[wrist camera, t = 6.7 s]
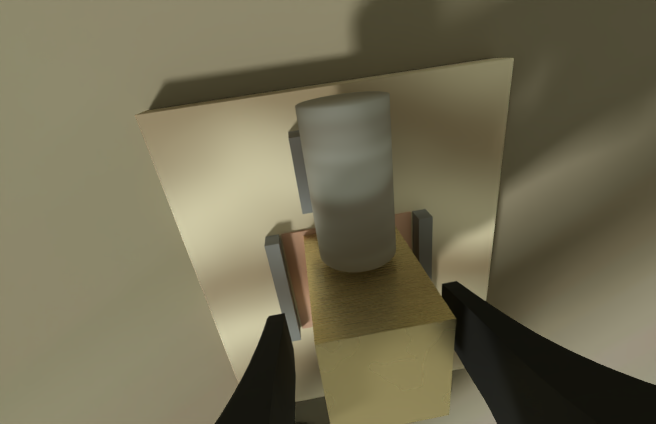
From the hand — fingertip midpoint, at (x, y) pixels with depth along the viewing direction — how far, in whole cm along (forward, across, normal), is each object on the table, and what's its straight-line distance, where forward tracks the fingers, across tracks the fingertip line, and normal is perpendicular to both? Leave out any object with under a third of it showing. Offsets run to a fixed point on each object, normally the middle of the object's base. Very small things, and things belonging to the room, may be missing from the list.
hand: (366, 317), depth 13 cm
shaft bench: (+4, 0, 0) cm, 4 cm away
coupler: (+3, 0, 0) cm, 3 cm away
